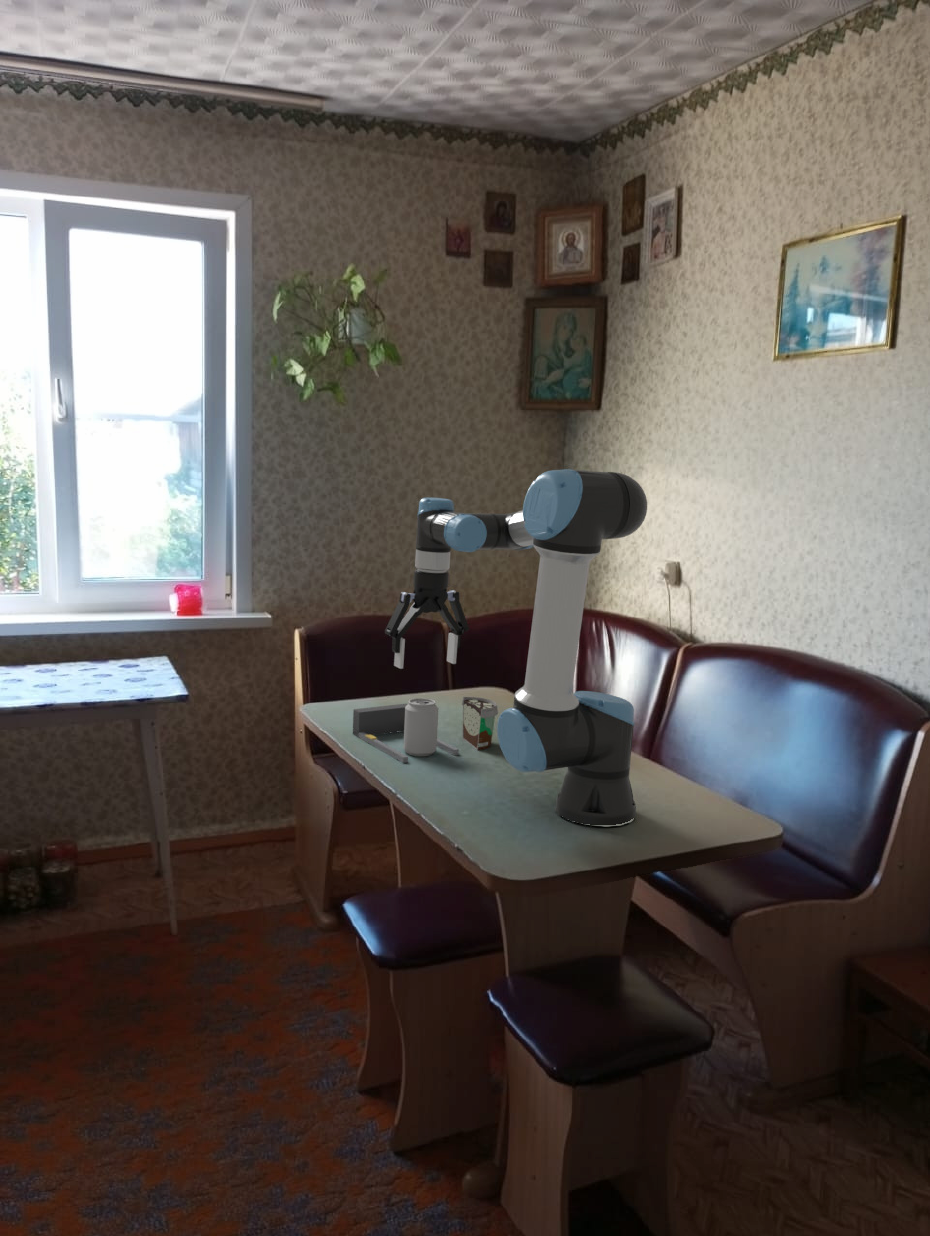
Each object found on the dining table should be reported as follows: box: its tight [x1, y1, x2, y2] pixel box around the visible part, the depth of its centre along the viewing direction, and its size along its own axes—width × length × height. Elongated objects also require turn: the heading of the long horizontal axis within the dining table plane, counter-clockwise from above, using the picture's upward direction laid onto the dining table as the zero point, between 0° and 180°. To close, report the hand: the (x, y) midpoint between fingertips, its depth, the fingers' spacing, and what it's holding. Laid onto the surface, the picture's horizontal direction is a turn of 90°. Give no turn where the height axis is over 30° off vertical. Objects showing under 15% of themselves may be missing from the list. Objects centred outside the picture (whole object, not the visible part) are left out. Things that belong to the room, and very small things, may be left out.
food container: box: [461, 696, 499, 751], centre depth 224 cm, size 12×6×10 cm, turn 22°
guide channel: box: [352, 703, 460, 764], centre depth 221 cm, size 24×15×6 cm, turn 33°
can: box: [403, 697, 439, 757], centre depth 215 cm, size 8×8×12 cm
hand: (425, 664), depth 211 cm, fingers open, 13 cm apart
